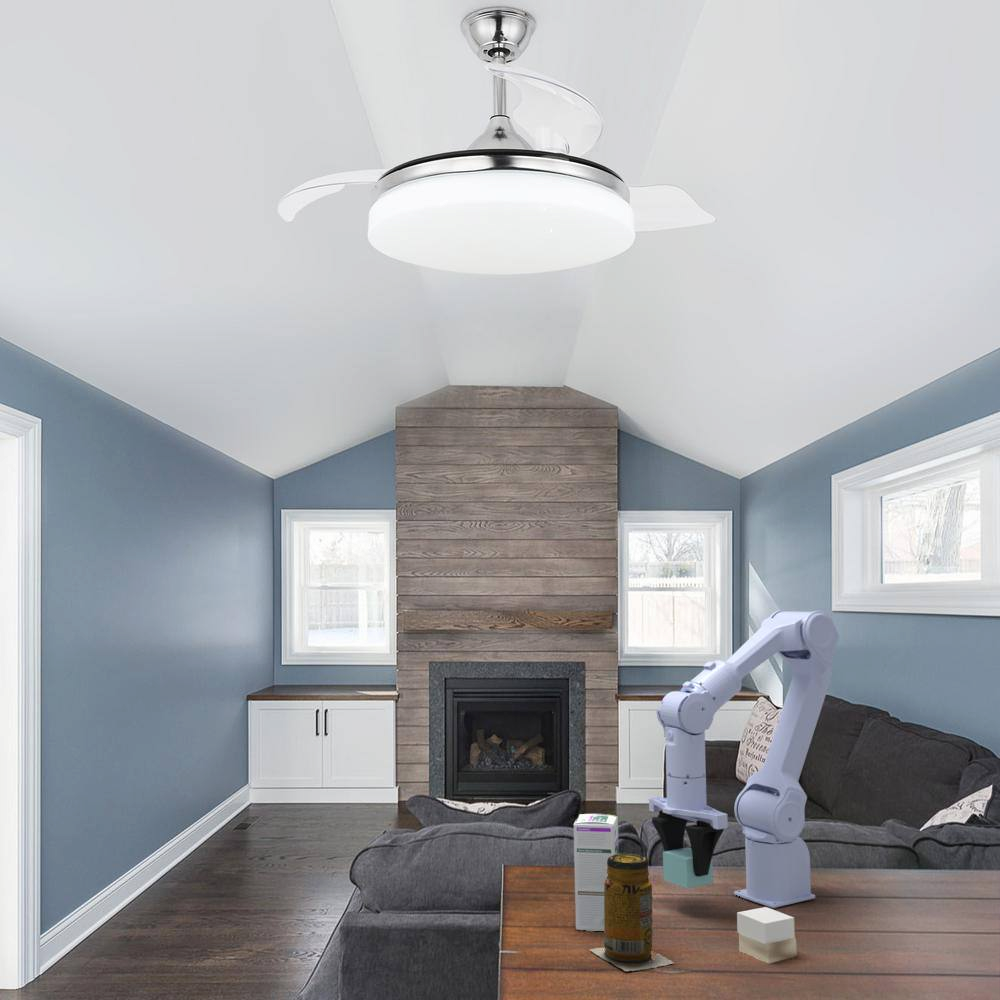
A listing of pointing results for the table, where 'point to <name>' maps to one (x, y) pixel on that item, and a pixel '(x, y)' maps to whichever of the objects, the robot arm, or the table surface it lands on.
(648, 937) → the condiment
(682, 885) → the teal brick
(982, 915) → the table surface
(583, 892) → the syrup box
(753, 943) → the maple brick
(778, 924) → the white brick
